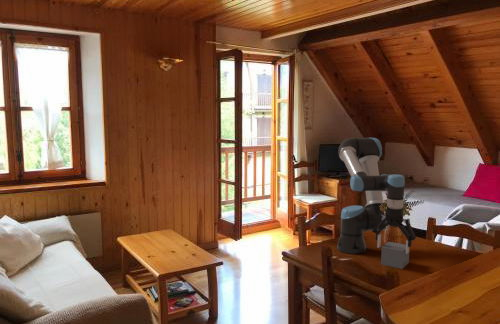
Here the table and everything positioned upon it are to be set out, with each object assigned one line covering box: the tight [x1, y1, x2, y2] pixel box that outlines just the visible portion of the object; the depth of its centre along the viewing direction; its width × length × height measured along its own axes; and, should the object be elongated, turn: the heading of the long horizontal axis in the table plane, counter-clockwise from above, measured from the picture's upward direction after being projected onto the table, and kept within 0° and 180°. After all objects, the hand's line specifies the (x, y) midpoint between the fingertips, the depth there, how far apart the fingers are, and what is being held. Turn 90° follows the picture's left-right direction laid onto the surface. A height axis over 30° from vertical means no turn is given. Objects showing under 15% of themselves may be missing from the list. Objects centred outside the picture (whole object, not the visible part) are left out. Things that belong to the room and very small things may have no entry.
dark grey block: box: [380, 241, 410, 270], centre depth 205 cm, size 10×10×9 cm
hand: (392, 249), depth 203 cm, fingers open, 13 cm apart
